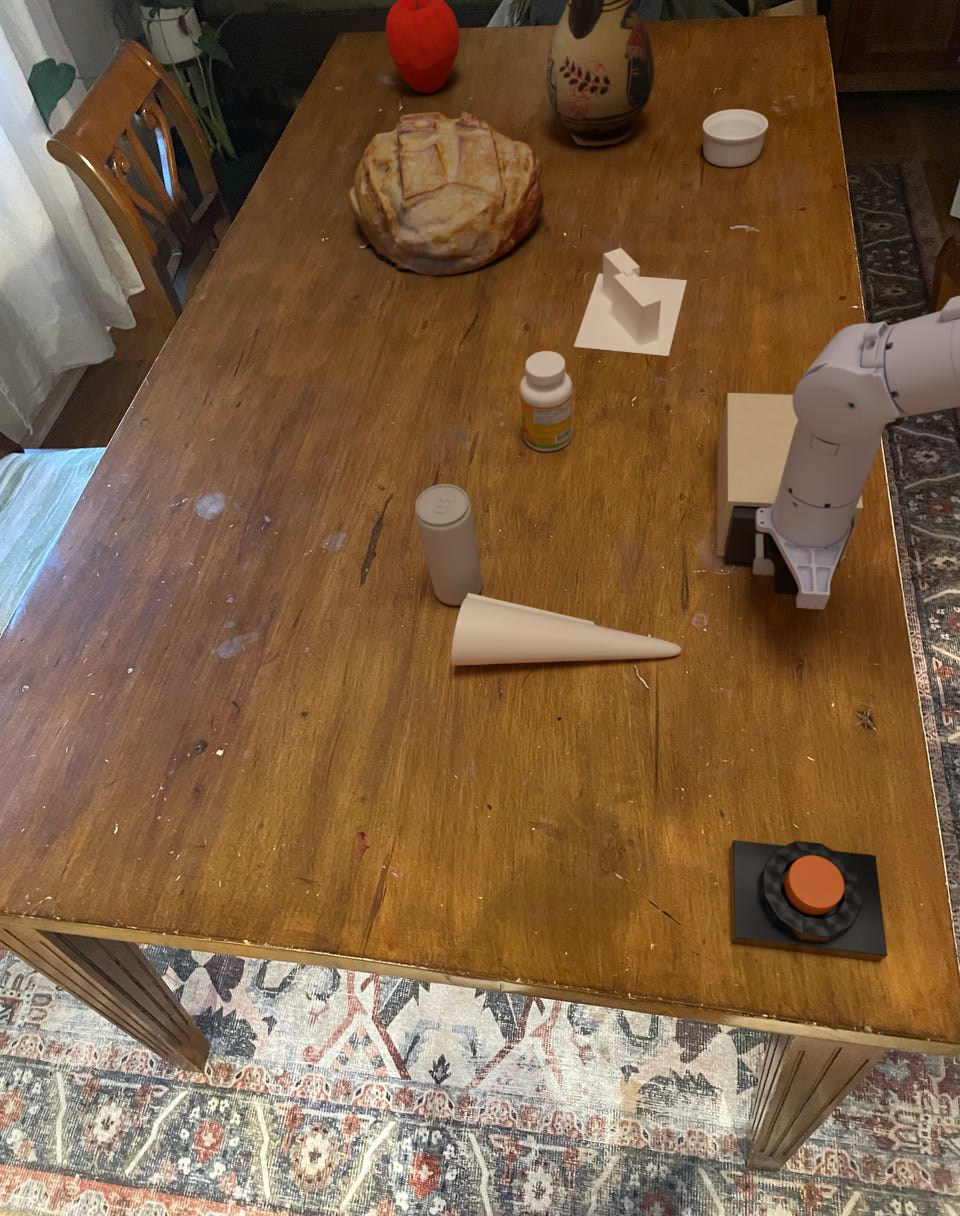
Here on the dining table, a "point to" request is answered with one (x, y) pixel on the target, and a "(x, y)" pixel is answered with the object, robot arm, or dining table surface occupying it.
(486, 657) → the long cone
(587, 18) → the ceramic jug
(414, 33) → the apple
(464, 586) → the beverage can
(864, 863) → the panel
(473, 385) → the dining table surface
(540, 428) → the supplement bottle
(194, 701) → the dining table surface
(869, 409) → the robot arm
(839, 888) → the button
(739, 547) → the drawer
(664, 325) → the napkin holder
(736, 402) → the cabinet
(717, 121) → the ramekin
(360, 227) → the bread
